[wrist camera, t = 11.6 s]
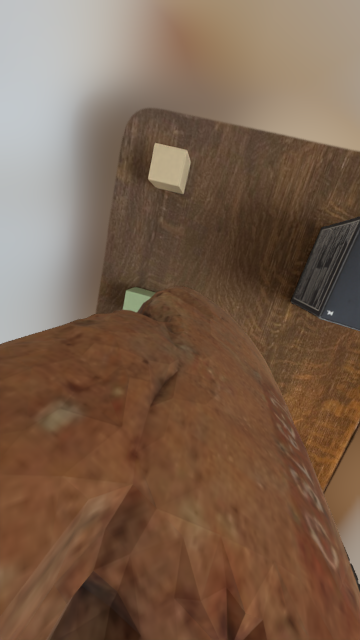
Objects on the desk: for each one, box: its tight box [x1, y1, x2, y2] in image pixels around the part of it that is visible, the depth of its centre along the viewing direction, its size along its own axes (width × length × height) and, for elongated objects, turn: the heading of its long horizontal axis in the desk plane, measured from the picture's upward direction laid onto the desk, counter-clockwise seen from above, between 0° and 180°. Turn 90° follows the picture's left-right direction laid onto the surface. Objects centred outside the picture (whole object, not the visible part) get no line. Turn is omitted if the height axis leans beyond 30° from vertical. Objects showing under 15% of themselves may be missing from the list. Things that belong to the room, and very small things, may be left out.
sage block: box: [123, 287, 155, 312], centre depth 37 cm, size 4×4×4 cm
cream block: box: [148, 143, 191, 194], centre depth 33 cm, size 4×4×4 cm
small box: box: [291, 217, 360, 331], centre depth 29 cm, size 11×6×10 cm, turn 164°
